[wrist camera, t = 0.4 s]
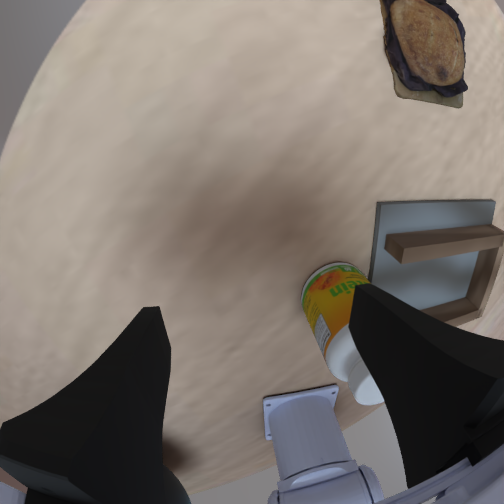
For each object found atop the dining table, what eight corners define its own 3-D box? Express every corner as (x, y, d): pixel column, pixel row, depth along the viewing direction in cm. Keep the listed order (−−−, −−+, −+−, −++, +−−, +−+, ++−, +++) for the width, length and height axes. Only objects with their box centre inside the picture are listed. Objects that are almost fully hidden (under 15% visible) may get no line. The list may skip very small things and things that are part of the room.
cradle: (460, 317, 27) (475, 332, 24) (355, 347, 25) (367, 370, 23) (491, 199, 21) (513, 210, 18) (377, 202, 19) (400, 216, 17)
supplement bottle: (367, 257, 21) (441, 338, 13) (357, 313, 24) (410, 398, 15) (301, 263, 21) (355, 361, 12) (297, 322, 23) (334, 421, 14)
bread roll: (460, 111, 17) (491, 115, 14) (382, 96, 17) (413, 95, 13) (447, 2, 13) (475, -5, 9) (366, -28, 12) (391, -44, 9)
